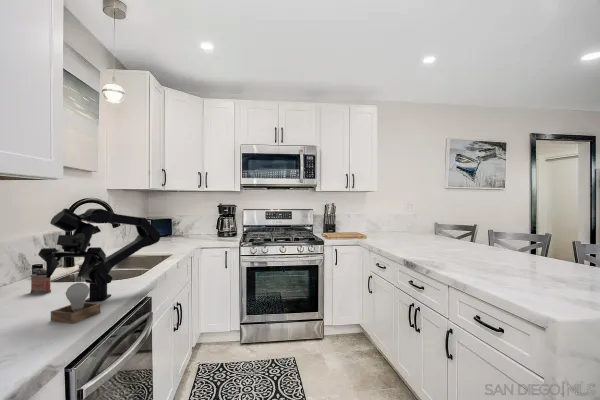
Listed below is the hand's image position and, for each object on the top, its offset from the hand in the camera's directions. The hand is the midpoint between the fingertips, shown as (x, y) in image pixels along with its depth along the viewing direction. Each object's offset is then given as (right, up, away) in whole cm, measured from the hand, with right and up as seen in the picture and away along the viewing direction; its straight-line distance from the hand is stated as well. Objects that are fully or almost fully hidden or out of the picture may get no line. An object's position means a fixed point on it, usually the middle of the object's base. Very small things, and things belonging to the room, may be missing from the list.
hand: (63, 277), depth 95 cm
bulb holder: (+5, -13, -1) cm, 14 cm away
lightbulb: (+6, -13, -1) cm, 14 cm away
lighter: (-29, -13, +24) cm, 40 cm away
